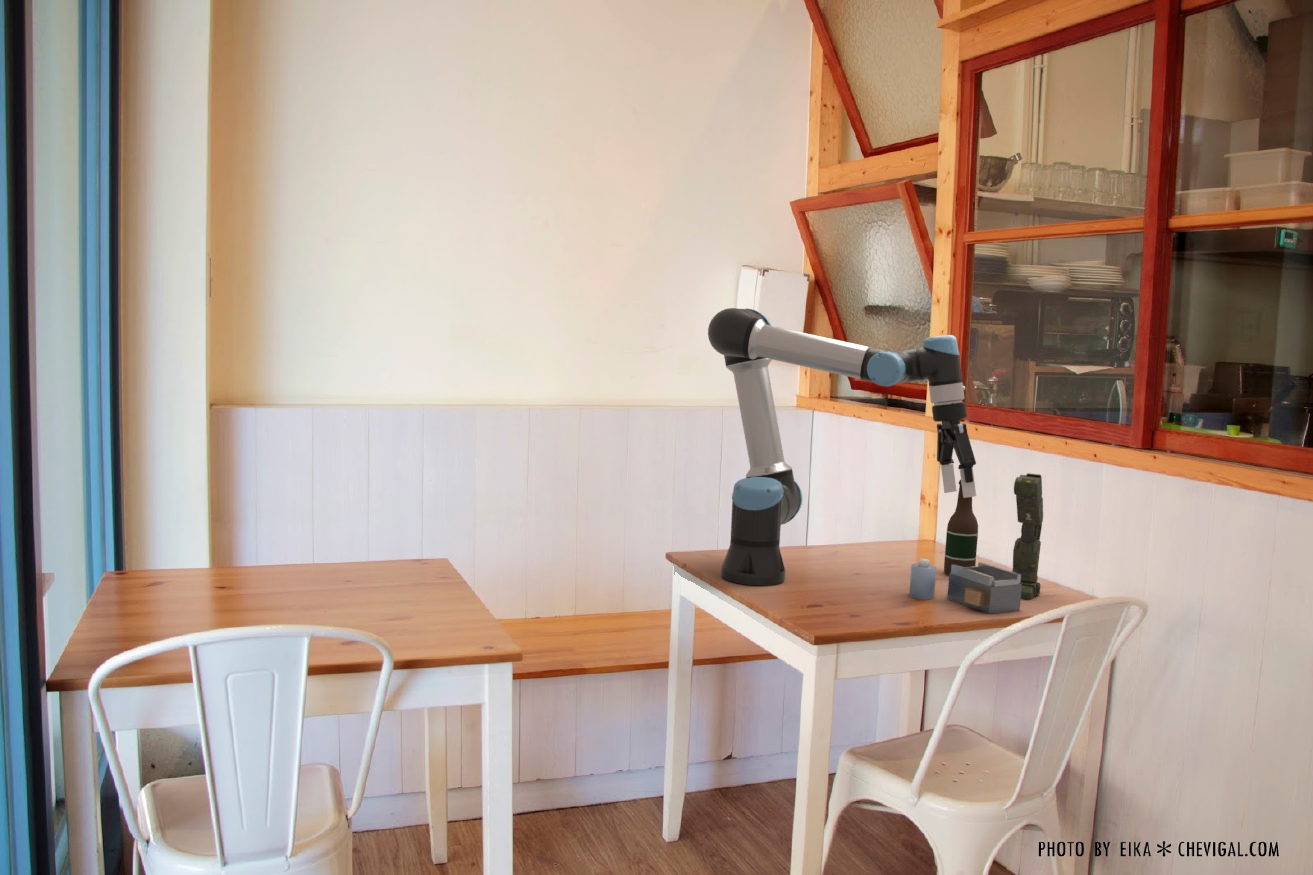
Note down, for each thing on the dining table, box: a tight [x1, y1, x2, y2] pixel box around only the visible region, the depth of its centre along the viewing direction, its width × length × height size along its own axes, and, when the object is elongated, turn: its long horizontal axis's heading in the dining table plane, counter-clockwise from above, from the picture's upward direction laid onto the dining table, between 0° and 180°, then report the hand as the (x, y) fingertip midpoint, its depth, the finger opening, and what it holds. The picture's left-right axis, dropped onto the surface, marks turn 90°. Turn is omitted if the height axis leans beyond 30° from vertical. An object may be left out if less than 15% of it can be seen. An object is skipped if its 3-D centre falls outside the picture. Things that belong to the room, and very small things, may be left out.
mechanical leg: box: [1012, 472, 1044, 601], centre depth 245 cm, size 14×7×30 cm, turn 149°
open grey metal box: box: [946, 561, 1022, 615], centre depth 236 cm, size 15×11×8 cm
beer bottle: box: [943, 479, 979, 576], centre depth 262 cm, size 8×8×24 cm
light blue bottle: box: [908, 558, 937, 601], centre depth 240 cm, size 6×6×8 cm
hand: (959, 494), depth 243 cm, fingers open, 13 cm apart
